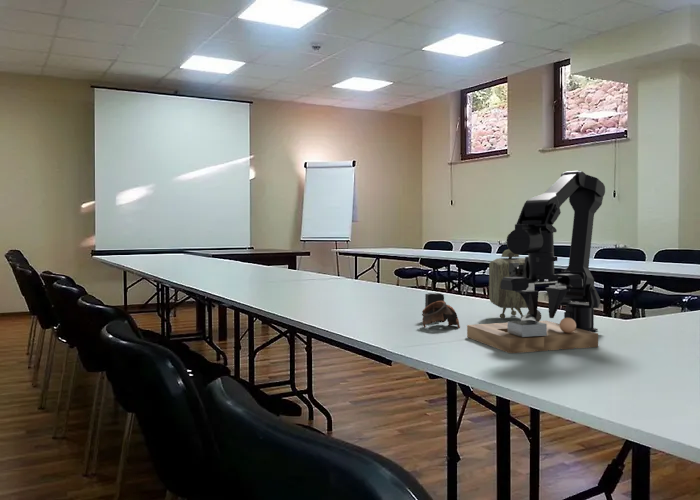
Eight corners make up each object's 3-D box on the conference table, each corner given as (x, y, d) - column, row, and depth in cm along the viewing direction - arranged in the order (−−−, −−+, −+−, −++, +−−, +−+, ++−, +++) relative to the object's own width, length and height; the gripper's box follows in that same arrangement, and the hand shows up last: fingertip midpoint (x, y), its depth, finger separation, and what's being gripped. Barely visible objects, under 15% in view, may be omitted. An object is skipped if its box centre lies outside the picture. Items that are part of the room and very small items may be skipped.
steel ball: (533, 320, 140) (524, 310, 139) (542, 323, 137) (533, 312, 136) (523, 331, 140) (515, 320, 139) (532, 333, 136) (523, 323, 135)
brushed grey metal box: (531, 330, 134) (531, 319, 134) (546, 335, 128) (546, 323, 128) (507, 332, 132) (507, 321, 132) (522, 336, 126) (522, 325, 126)
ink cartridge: (440, 319, 173) (441, 292, 173) (443, 321, 171) (444, 293, 171) (424, 320, 172) (425, 293, 172) (427, 321, 170) (428, 293, 170)
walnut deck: (545, 332, 151) (545, 320, 150) (598, 346, 131) (598, 333, 131) (467, 337, 145) (467, 324, 145) (509, 353, 126) (509, 339, 125)
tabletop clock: (531, 322, 166) (531, 233, 165) (499, 322, 166) (499, 234, 166) (517, 315, 181) (517, 233, 180) (488, 315, 181) (488, 233, 180)
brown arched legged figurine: (465, 332, 155) (451, 306, 153) (432, 347, 157) (418, 321, 155) (458, 314, 167) (445, 289, 165) (428, 328, 168) (415, 304, 166)
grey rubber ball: (536, 321, 149) (536, 307, 149) (544, 323, 146) (544, 309, 145) (523, 322, 148) (523, 308, 148) (531, 324, 145) (531, 310, 144)
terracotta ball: (569, 331, 134) (569, 316, 134) (579, 334, 131) (579, 318, 131) (556, 332, 133) (556, 316, 133) (565, 334, 130) (565, 319, 130)
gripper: (554, 250, 148) (556, 312, 149) (488, 253, 143) (489, 317, 144) (583, 251, 138) (585, 317, 138) (512, 254, 133) (514, 323, 133)
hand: (542, 318), depth 139 cm, fingers open, 4 cm apart
